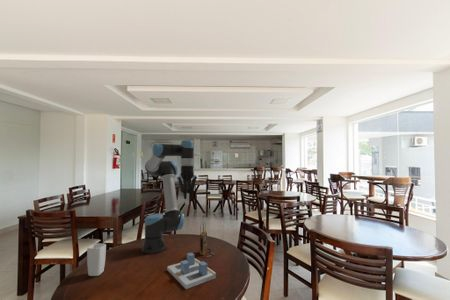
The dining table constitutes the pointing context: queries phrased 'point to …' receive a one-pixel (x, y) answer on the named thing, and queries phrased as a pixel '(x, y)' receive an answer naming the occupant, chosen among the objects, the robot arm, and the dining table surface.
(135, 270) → the dining table surface
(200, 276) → the switch bank
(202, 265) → the tab
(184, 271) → the tab
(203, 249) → the multimeter
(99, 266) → the cup
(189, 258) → the tab
